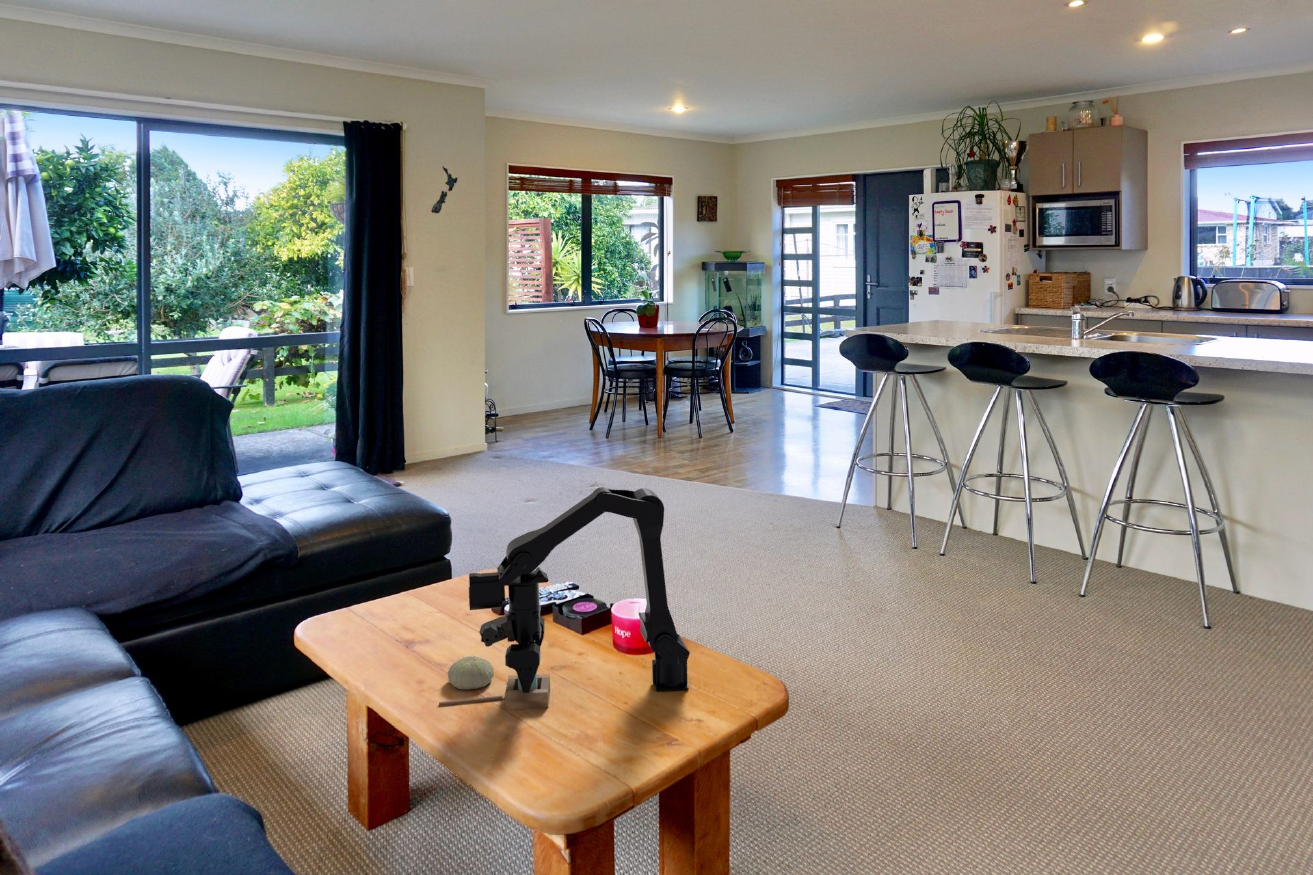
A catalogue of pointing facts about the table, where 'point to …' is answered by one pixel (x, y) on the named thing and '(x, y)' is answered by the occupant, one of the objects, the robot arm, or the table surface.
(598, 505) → the robot arm
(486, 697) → the brown wooden rod
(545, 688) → the wooden socket block
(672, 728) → the table surface
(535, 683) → the teal rectangular block
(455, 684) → the sea urchin shell
